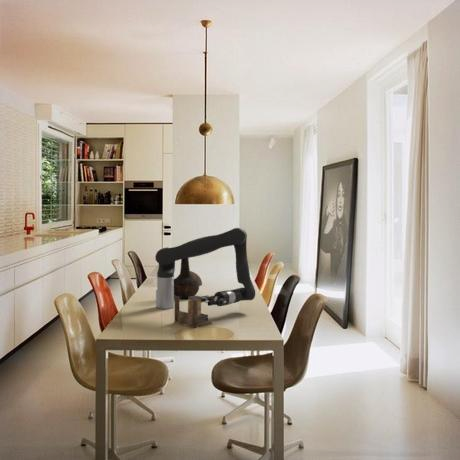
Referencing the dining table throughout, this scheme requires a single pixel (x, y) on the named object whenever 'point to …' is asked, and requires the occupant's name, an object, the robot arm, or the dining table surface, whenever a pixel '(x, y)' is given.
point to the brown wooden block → (190, 304)
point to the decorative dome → (195, 277)
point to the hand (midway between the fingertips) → (202, 302)
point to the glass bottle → (185, 282)
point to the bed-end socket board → (190, 316)
